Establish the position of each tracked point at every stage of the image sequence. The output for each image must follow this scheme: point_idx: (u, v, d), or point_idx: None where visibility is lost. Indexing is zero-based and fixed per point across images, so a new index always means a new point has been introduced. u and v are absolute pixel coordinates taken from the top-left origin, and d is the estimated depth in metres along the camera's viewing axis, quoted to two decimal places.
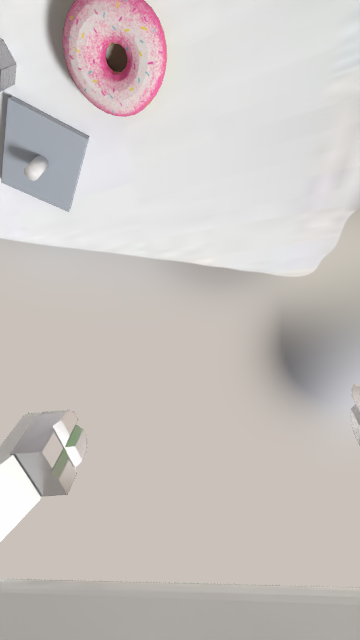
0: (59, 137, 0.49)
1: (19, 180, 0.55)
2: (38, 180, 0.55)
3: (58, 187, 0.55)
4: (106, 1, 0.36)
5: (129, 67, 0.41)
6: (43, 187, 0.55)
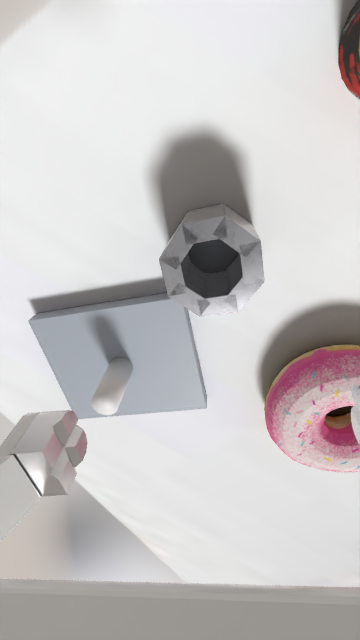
0: (180, 377, 0.29)
1: (59, 346, 0.28)
2: (86, 370, 0.29)
3: None
4: None
5: (347, 441, 0.27)
6: (82, 378, 0.30)
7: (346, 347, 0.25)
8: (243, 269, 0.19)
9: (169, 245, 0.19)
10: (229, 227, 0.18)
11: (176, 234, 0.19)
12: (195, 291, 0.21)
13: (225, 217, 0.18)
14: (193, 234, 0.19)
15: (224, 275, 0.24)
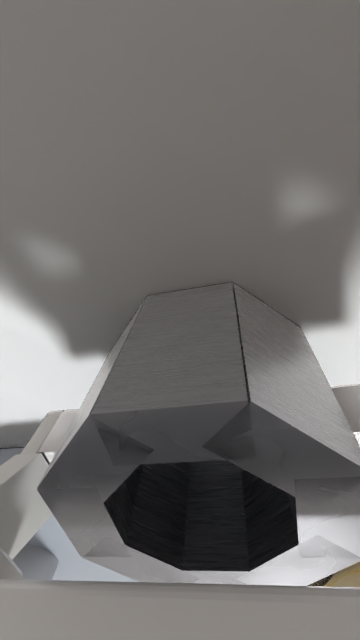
0: None
1: None
2: None
3: None
4: None
5: None
6: None
7: None
8: (302, 530, 0.06)
9: (61, 462, 0.06)
10: (262, 434, 0.05)
11: (78, 439, 0.05)
12: (158, 543, 0.07)
13: (250, 407, 0.05)
14: (134, 442, 0.05)
15: None
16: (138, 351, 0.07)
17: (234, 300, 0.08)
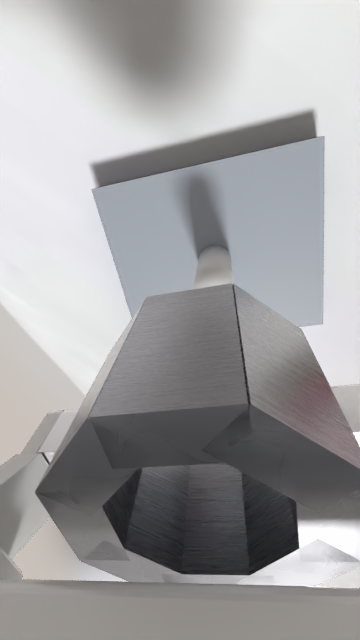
0: (295, 275, 0.21)
1: (131, 230, 0.21)
2: (165, 268, 0.22)
3: None
4: None
5: None
6: (156, 282, 0.22)
7: None
8: (303, 534, 0.06)
9: (59, 465, 0.06)
10: (262, 437, 0.05)
11: (76, 442, 0.05)
12: (157, 546, 0.07)
13: (250, 409, 0.05)
14: (133, 446, 0.05)
15: None
16: (137, 353, 0.07)
17: (234, 301, 0.08)
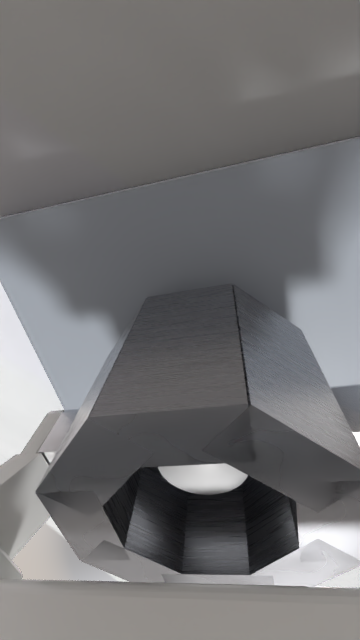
0: (353, 376, 0.12)
1: (55, 296, 0.11)
2: None
3: None
4: None
5: None
6: None
7: None
8: (303, 534, 0.06)
9: (59, 466, 0.06)
10: (263, 437, 0.05)
11: (76, 442, 0.05)
12: (158, 546, 0.07)
13: (250, 410, 0.05)
14: (133, 446, 0.05)
15: None
16: (137, 353, 0.07)
17: (234, 301, 0.08)
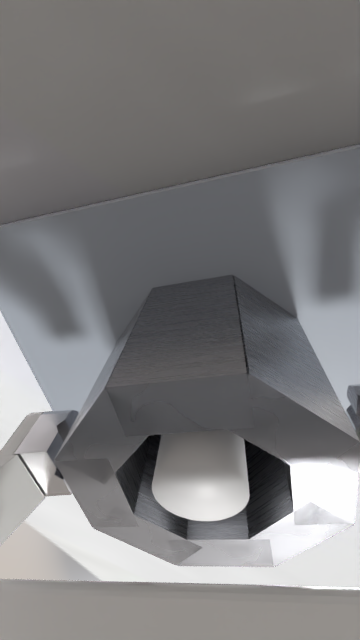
0: None
1: (47, 309, 0.11)
2: None
3: None
4: None
5: None
6: None
7: None
8: (296, 497, 0.07)
9: (77, 434, 0.06)
10: (260, 404, 0.06)
11: (93, 411, 0.06)
12: (163, 514, 0.08)
13: (249, 378, 0.05)
14: (144, 414, 0.06)
15: None
16: (146, 335, 0.07)
17: (234, 290, 0.09)
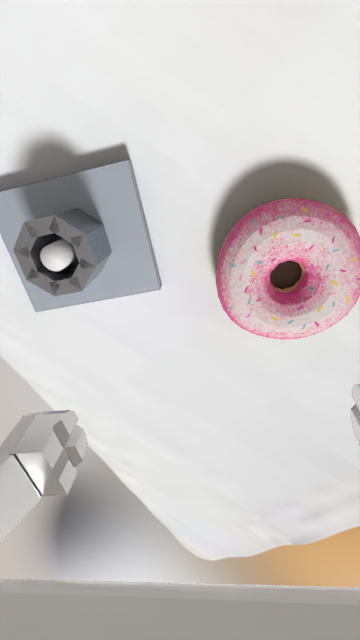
0: (132, 254, 0.30)
1: (14, 224, 0.29)
2: None
3: None
4: (350, 245, 0.25)
5: (293, 300, 0.28)
6: None
7: (284, 199, 0.26)
8: (78, 256, 0.25)
9: (18, 238, 0.25)
10: (59, 224, 0.24)
11: (22, 230, 0.25)
12: (48, 275, 0.26)
13: (55, 216, 0.24)
14: (34, 229, 0.24)
15: None
16: (39, 217, 0.26)
17: (73, 209, 0.27)
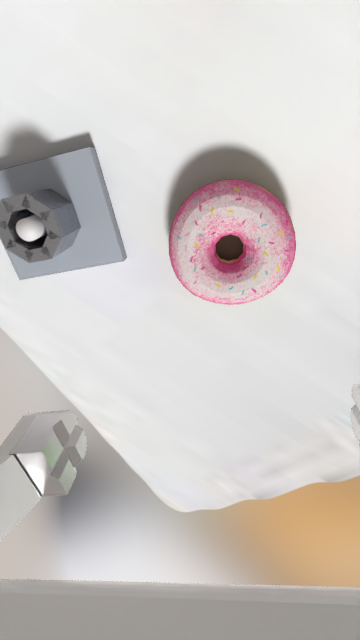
0: (98, 229, 0.35)
1: None
2: None
3: None
4: (277, 221, 0.30)
5: (233, 270, 0.33)
6: None
7: (223, 180, 0.31)
8: (46, 229, 0.30)
9: None
10: (30, 201, 0.29)
11: (0, 205, 0.30)
12: (23, 245, 0.32)
13: (26, 194, 0.29)
14: (10, 205, 0.30)
15: None
16: None
17: (45, 189, 0.32)
